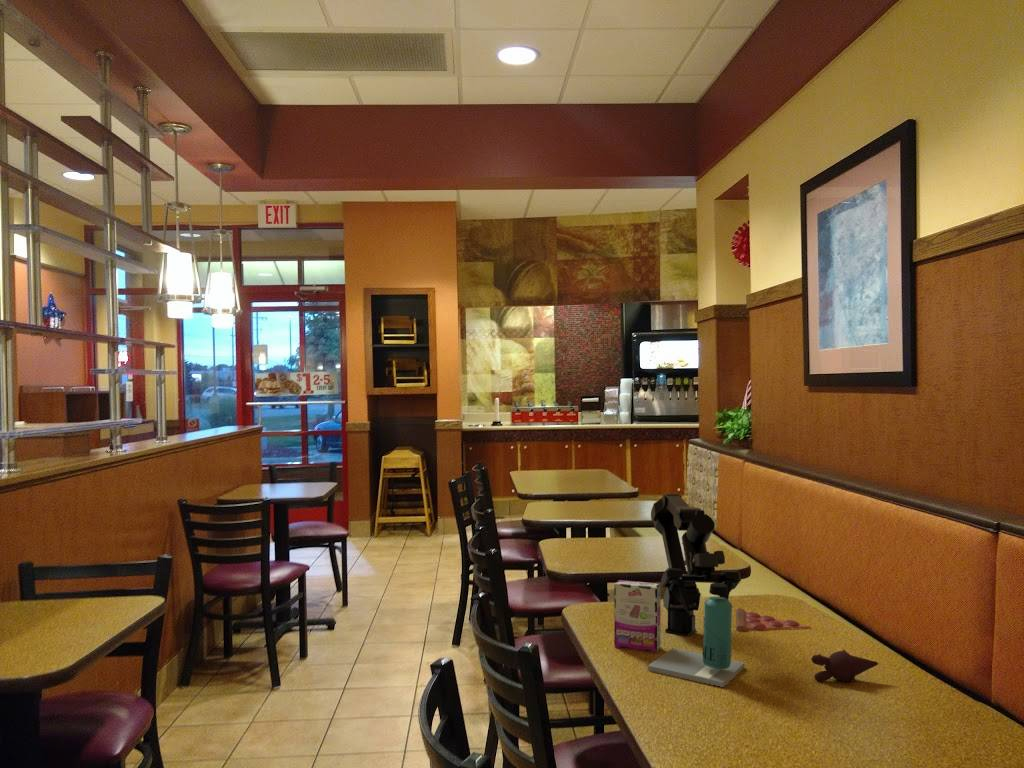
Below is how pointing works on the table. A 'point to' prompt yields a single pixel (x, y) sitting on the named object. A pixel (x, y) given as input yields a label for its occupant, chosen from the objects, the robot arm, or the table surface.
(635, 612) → the candy bar box
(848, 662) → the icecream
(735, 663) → the grey flat rectangular block
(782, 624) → the pizza slice
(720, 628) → the beverage bottle
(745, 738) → the table surface
